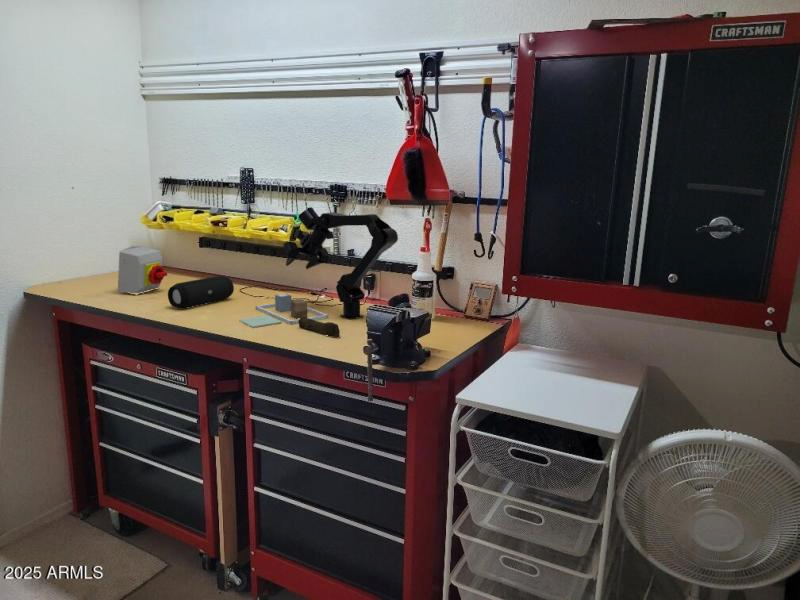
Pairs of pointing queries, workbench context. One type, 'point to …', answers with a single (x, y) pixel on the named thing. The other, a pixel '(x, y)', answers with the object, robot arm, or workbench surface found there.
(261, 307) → the flat rectangular frame
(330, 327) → the hand tool
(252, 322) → the mat
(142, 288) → the electrical switch box
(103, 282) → the workbench surface
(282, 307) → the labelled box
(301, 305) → the plain box
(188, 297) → the portable speaker
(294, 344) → the workbench surface
